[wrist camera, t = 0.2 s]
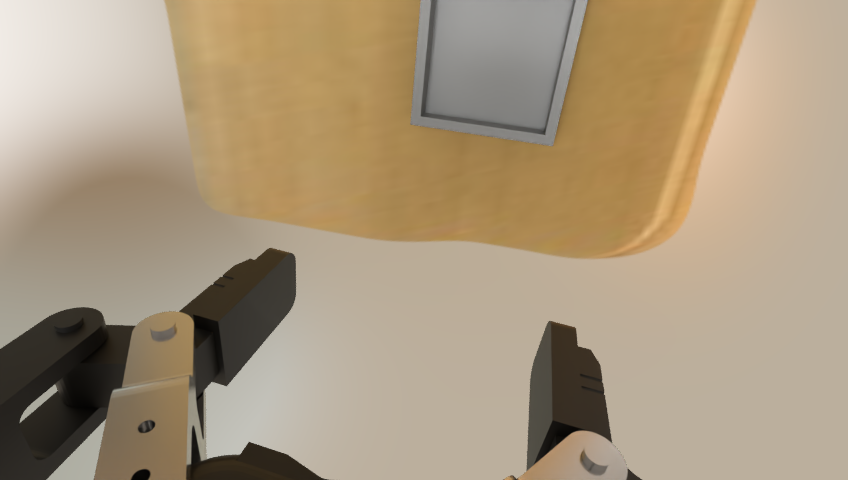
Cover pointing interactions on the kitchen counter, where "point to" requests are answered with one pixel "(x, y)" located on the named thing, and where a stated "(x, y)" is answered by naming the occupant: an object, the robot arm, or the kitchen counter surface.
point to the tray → (495, 66)
